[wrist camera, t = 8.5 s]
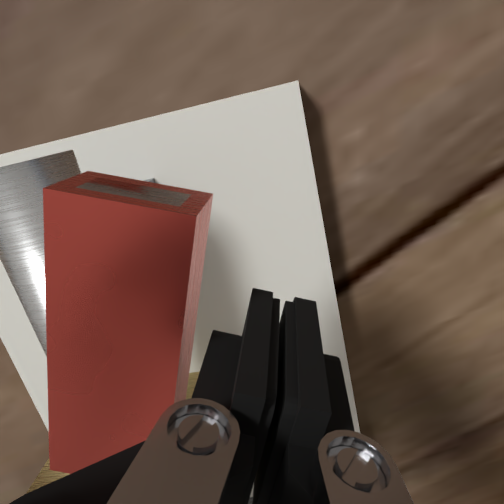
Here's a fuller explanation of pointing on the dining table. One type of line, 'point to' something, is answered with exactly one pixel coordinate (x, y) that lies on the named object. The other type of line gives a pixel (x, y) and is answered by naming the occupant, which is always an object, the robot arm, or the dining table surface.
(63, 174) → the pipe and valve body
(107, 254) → the valve lever
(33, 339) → the valve board
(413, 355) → the dining table surface
